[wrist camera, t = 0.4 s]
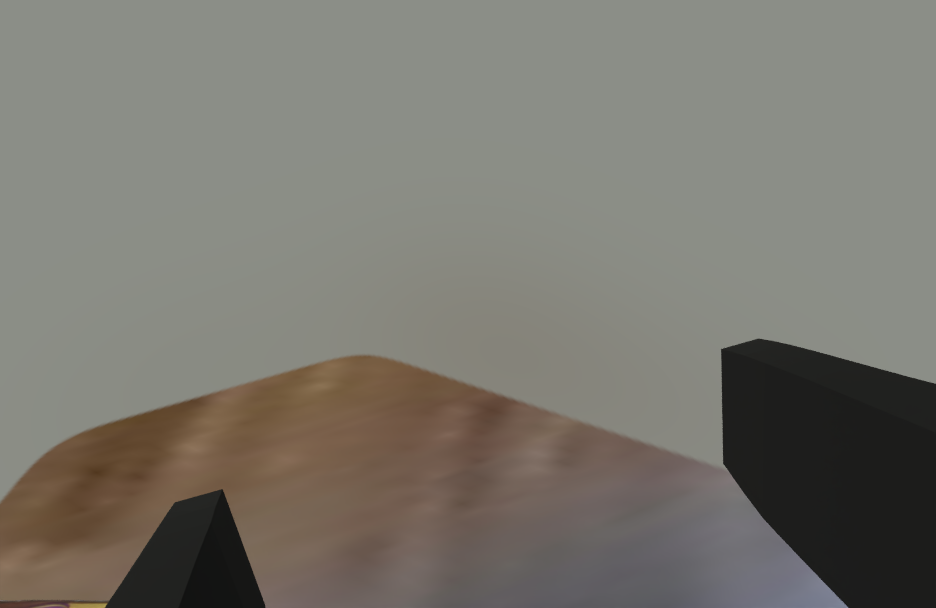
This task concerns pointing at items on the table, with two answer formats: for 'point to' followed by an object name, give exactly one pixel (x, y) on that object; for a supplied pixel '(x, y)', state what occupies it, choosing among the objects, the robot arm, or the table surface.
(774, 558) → the table surface
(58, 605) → the candy box
